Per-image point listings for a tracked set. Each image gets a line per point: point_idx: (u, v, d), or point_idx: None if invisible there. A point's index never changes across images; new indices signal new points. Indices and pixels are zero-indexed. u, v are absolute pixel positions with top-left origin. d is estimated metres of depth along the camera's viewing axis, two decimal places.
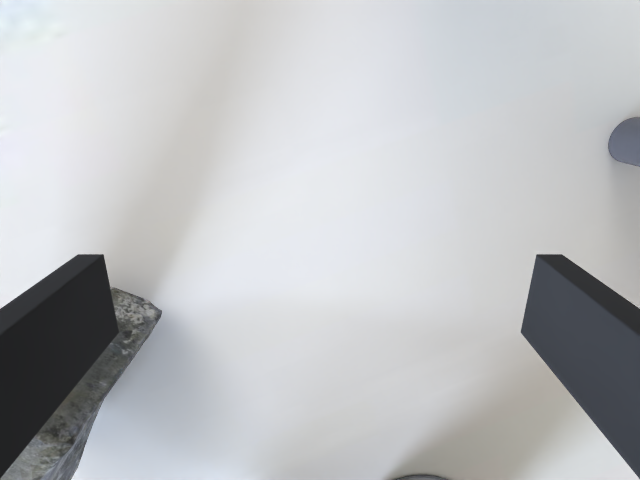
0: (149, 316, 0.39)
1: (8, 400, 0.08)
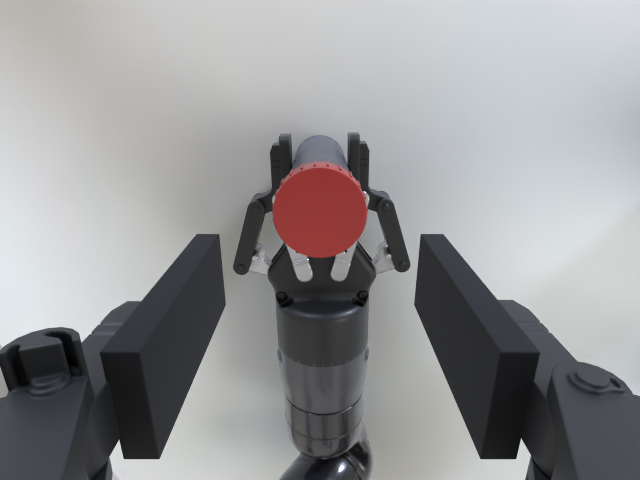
0: None
1: (182, 348, 0.10)
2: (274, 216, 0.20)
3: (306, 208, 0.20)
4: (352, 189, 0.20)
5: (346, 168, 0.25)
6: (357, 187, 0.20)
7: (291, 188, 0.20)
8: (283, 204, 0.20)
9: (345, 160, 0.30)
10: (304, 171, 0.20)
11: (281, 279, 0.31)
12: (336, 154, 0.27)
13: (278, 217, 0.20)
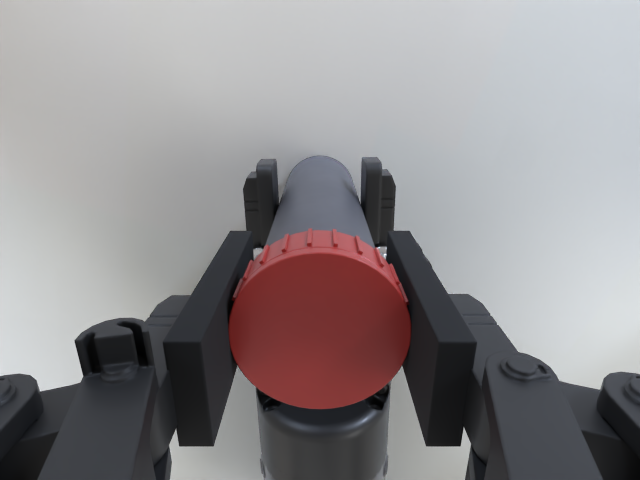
0: None
1: (228, 340, 0.10)
2: (231, 340, 0.10)
3: (293, 326, 0.10)
4: (384, 292, 0.10)
5: (363, 223, 0.15)
6: (394, 288, 0.10)
7: (263, 290, 0.10)
8: (248, 319, 0.10)
9: None
10: (288, 259, 0.10)
11: None
12: (346, 194, 0.17)
13: (239, 342, 0.10)
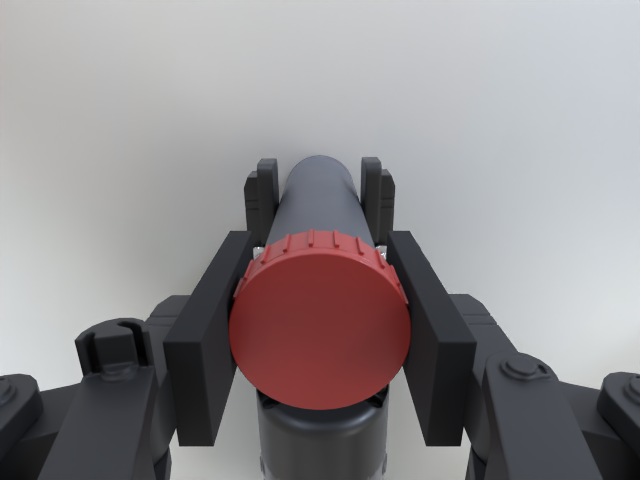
0: None
1: (228, 340, 0.10)
2: (305, 406, 0.11)
3: (302, 357, 0.11)
4: (282, 273, 0.10)
5: (363, 222, 0.15)
6: (280, 262, 0.10)
7: (259, 371, 0.11)
8: (286, 389, 0.11)
9: (357, 197, 0.20)
10: (231, 346, 0.11)
11: None
12: (345, 194, 0.17)
13: (308, 402, 0.11)
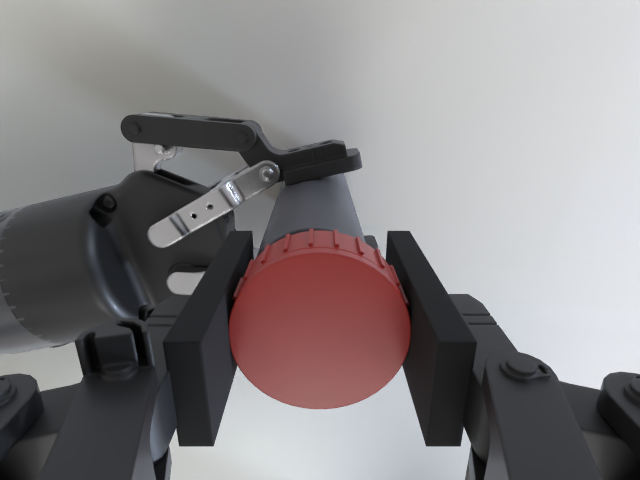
0: None
1: (228, 340, 0.10)
2: (305, 406, 0.11)
3: (302, 356, 0.11)
4: (282, 273, 0.10)
5: None
6: (280, 262, 0.10)
7: (259, 371, 0.11)
8: (286, 389, 0.11)
9: None
10: (231, 345, 0.11)
11: (137, 197, 0.19)
12: None
13: (308, 401, 0.11)
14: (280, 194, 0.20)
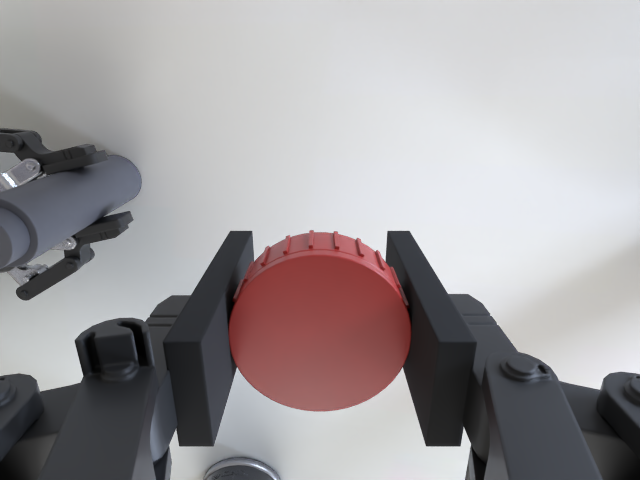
0: None
1: (228, 341, 0.10)
2: (305, 408, 0.11)
3: (302, 358, 0.11)
4: (282, 275, 0.10)
5: (70, 234, 0.26)
6: (280, 264, 0.10)
7: (259, 373, 0.11)
8: (286, 391, 0.11)
9: (104, 215, 0.31)
10: (231, 347, 0.11)
11: None
12: (93, 214, 0.29)
13: (308, 403, 0.11)
14: None
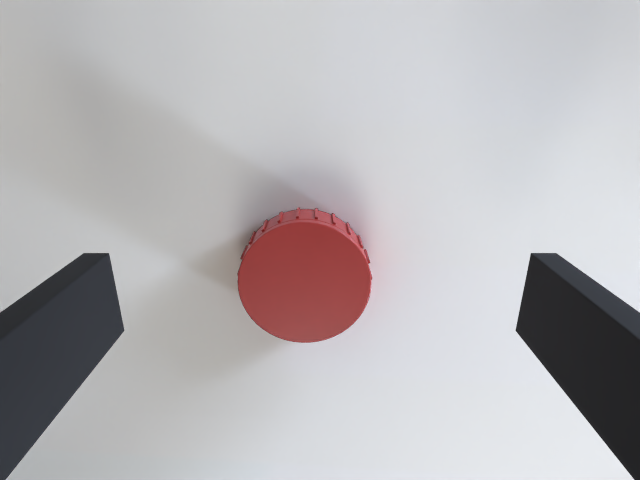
0: None
1: (17, 397, 0.08)
2: (294, 340, 0.15)
3: (292, 300, 0.15)
4: (276, 237, 0.14)
5: None
6: (275, 229, 0.14)
7: (260, 312, 0.15)
8: (280, 326, 0.15)
9: None
10: (240, 292, 0.14)
11: None
12: None
13: (297, 336, 0.15)
14: None
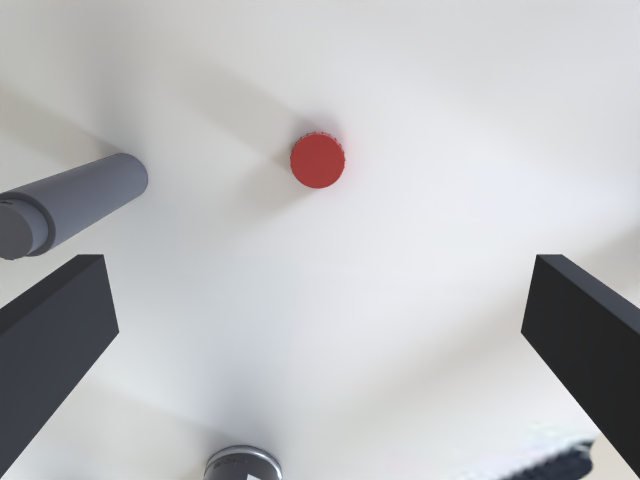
0: None
1: (8, 400, 0.08)
2: (313, 187, 0.36)
3: (312, 168, 0.36)
4: (306, 140, 0.35)
5: (83, 227, 0.28)
6: (306, 137, 0.35)
7: (299, 174, 0.36)
8: (307, 180, 0.36)
9: (114, 210, 0.33)
10: (291, 165, 0.36)
11: None
12: (104, 208, 0.30)
13: (314, 185, 0.36)
14: None
